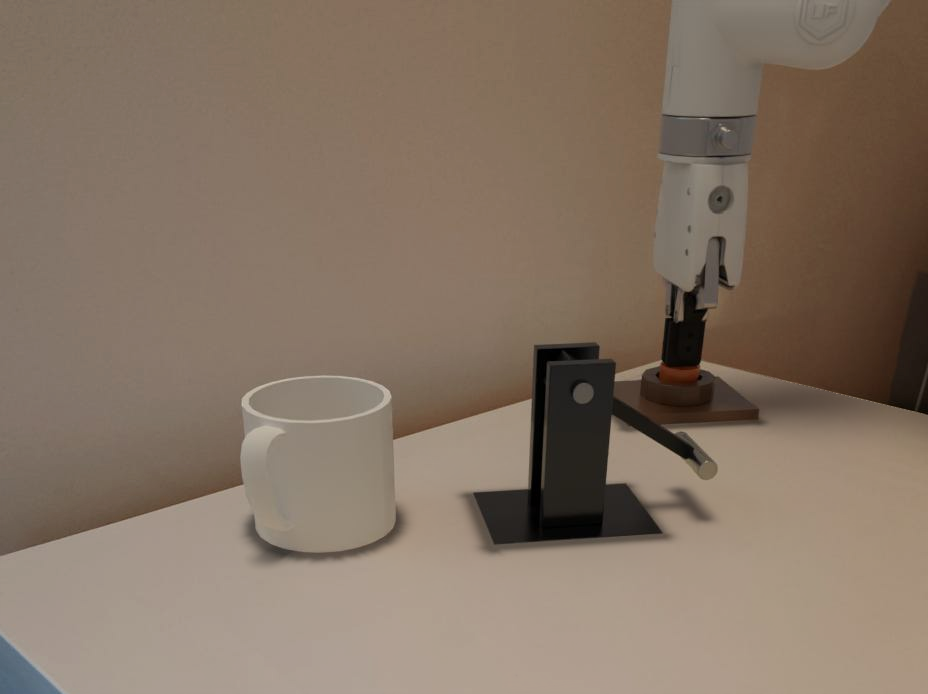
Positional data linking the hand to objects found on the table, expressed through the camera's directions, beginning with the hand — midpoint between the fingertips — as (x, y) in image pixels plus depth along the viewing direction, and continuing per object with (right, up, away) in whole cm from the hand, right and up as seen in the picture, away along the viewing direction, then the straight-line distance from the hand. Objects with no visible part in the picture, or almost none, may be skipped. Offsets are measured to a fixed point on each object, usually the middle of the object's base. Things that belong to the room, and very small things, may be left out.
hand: (680, 363), depth 91 cm
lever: (-9, -11, -21) cm, 25 cm away
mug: (-31, -19, -20) cm, 41 cm away
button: (0, -2, +1) cm, 2 cm away
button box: (0, -4, +3) cm, 5 cm away
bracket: (-13, -17, -18) cm, 28 cm away
